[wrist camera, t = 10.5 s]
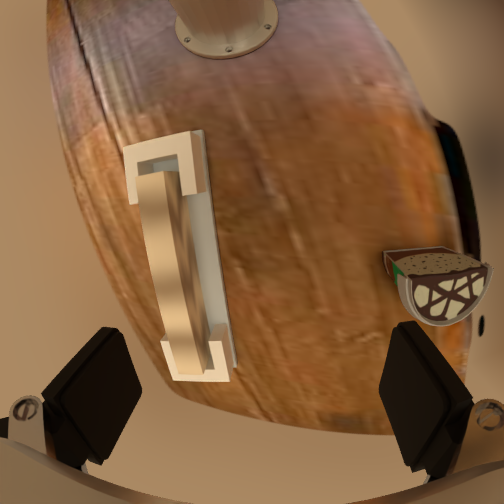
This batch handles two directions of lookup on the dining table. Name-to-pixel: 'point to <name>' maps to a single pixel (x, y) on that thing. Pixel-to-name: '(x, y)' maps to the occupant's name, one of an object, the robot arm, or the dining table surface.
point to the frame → (204, 237)
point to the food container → (437, 282)
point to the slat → (174, 268)
